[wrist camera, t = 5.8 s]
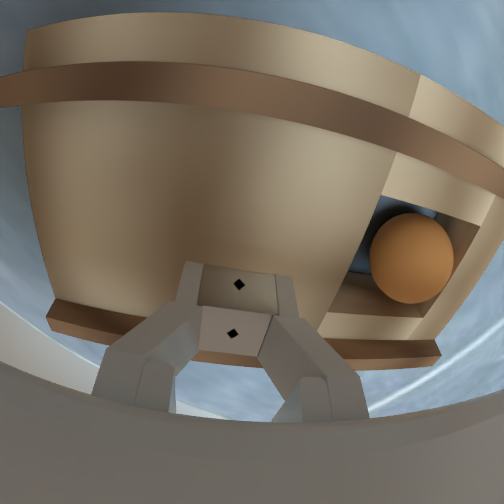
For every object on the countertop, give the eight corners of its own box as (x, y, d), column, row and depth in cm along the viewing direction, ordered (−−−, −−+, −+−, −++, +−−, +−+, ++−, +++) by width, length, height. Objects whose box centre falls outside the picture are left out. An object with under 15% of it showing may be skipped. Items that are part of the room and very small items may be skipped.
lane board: (86, 292, 15) (60, 348, 12) (71, 30, 7) (4, 31, 4) (398, 329, 18) (417, 380, 15) (500, 134, 10) (557, 168, 6)
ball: (344, 262, 14) (376, 324, 11) (374, 189, 12) (424, 243, 9) (404, 267, 15) (439, 319, 12) (435, 204, 13) (483, 252, 9)
